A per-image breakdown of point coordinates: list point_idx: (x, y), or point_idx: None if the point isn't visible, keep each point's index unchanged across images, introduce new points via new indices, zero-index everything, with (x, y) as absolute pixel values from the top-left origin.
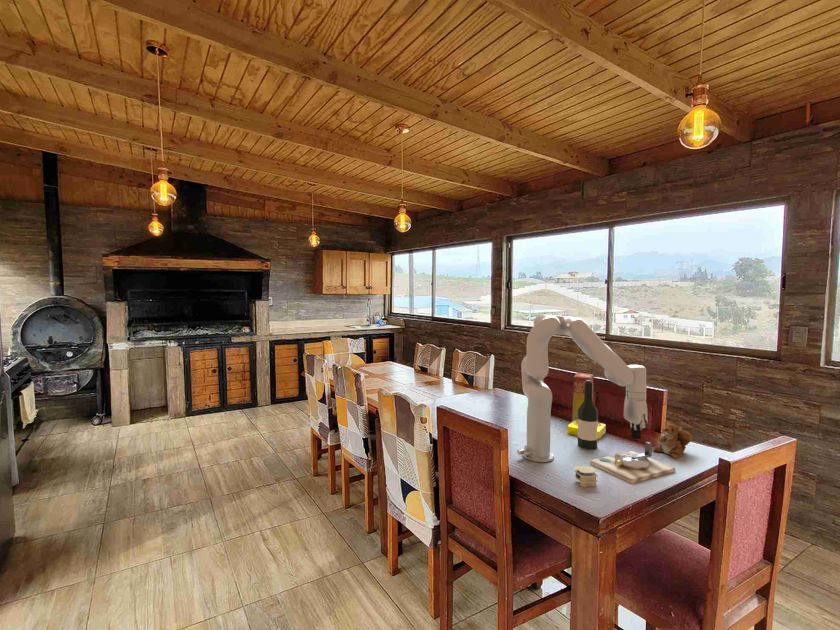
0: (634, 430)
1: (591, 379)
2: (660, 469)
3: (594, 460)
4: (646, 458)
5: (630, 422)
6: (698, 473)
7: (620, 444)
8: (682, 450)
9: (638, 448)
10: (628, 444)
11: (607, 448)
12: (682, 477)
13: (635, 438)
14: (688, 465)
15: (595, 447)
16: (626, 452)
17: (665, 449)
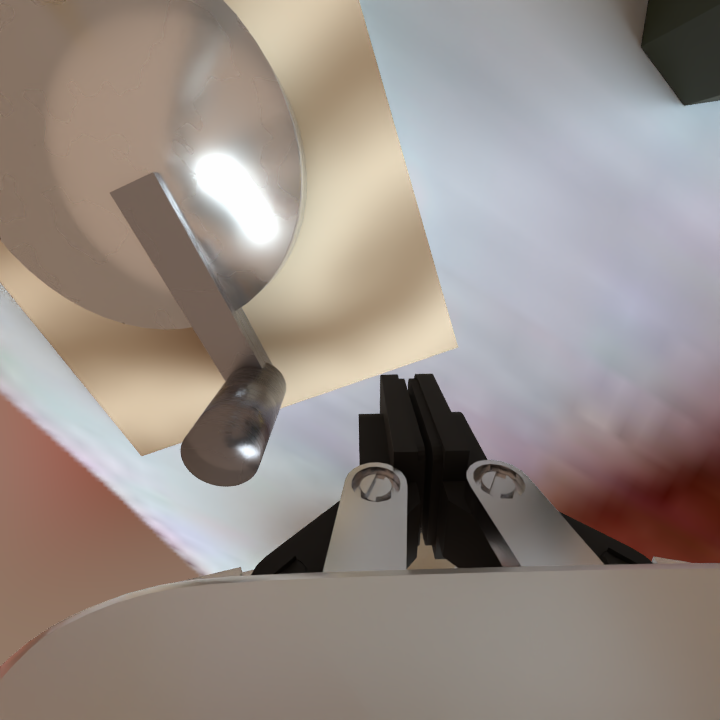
0: (390, 459)
1: None
2: (86, 353)
3: None
4: (152, 321)
5: (579, 561)
6: (154, 529)
7: (648, 364)
8: None
9: (538, 439)
10: (624, 417)
11: (618, 203)
12: (73, 432)
13: (380, 399)
14: (258, 542)
15: (659, 29)
16: (296, 207)
17: (419, 551)
